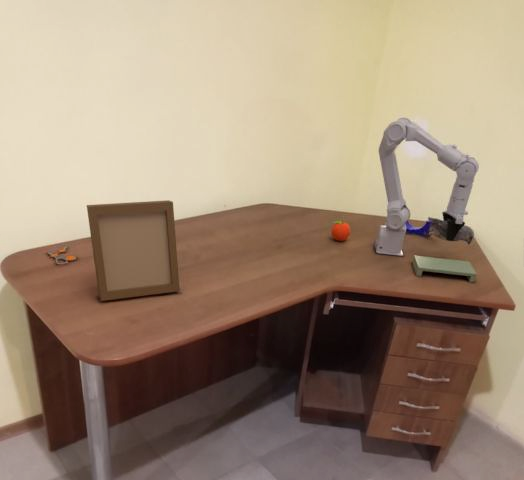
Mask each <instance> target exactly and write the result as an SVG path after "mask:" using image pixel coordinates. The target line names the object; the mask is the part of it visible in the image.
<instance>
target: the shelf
mask: <svg viewBox="0 0 524 480" xmlns="http://www.w3.org/2000/svg"><path fill="white" fill-rule="evenodd" d="M411 264H412V267H413V270H414V273H415V276H417V277H422V275H423V272H430V273H439V274H447V275H457V276H466V278H467V280H468V283H469V282H470V283H475V280H476V278H477V274H478V273H477V272H476V270H475V269H474V267H473V265H472V264H471V262H470V261H467V260H460V259H459V260H458V259H449V258H440V257H432V256H422V255H415V254H414V255H413V260H412V262H411Z"/></svg>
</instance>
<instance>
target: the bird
mask: <svg viewBox="0 0 524 480" xmlns="http://www.w3.org/2000/svg"><path fill="white" fill-rule="evenodd" d="M427 220H429V221H430V222H431V223H430V224H431V228H430V231H429V232H426V231H425V233H426V237H425V238H426V240H427V241H428V240H429V238H428V237H430V236H431V235H433V236H434V237H435V238H437V239H440V240H443V241H446V242H449V241H448V240H446V237H447V230H448V224H447V221H443V220H442V219H439V218H436V217H430V216H428V218H427ZM425 230H426V229H425ZM427 233H429V235H427ZM474 237H475V232H474V230H473V229H472V227H470V226H467V225H464V226H463V227H462V228H461V229H460V230H459V232H458V233H457V235H456V237H455V238H454V240H453V241H452V242H458V241H459V242H460V241H464V242H466V243H467V245H470V244H471V243H472V241H473V240H474Z"/></svg>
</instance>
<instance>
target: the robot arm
mask: <svg viewBox="0 0 524 480" xmlns="http://www.w3.org/2000/svg"><path fill="white" fill-rule="evenodd" d="M403 141H405V142H417V143H418V144H420V145H422V146H423V147H425V148H427V149H428V150H429V151H431V152H432V153H434V154H436V157H437V158H436V159H437V161H438V162H440V163H441V164H442V165H444V166H445V167H447V168H448V169H449V170H451V171H452V172H456V173H455V174H456V178H455V181H454V182H453V186H452V189H451V193H450V197H449V199H448V203H447V205H446V208H445V211H442V213H441V214H442V219H443V220H442V221H447V224H448V230H447V237H446V240H448V241H447V242H454V241H453V240H454V238H455V237H456V235H457V233H458V232H459V230H460V229H461V228H462V227H463V226H466V225H465V224H466V222H465V221H464V220H465V219H464V217H465V216H467V215H469V211H468V210H466V208H467V206H468V203H469V199H470V195H471V193H472V189H473V185H474V182H475V176H476V175H477V173H478V171H479V167H480V166H479V162H478V160H477V159H476V158H475V157H472V156H470V154H468V153H466V154H465V153H464V152H462V151H461V150H459V149H458V146H457V145H456V144H453V145H452V144H451V143H447V144H444V143H442V142H441V141H439V140H438V139H437V138H435V136H432V134H431V133H429V132H428V131H427V130H425V129H424V128H422V127H421V126H420V125H419V124H417V123H416V122H414V121H411V120H410V119H409V118H408V117H399V118H398V119H397V120H395V121H392V122H391V123H389V124H388V125H387V127H386V128H385V129H384V131H383V134H382V138H381V140H380V143H379V147H378V156H379V161H380V166H381V172H382V177H383V183H384V188H385V193H386V199H387V205H386V206H387V207H386V213H387V215H386V219H385V225H379V227H378V230H377V235H376V238H375V243H374V247H375V252H376V254H380V255H391V256H397V257H398V256H399V257H403V256H404V253H403V245H404V240H405V236H406V234H407V233H406V229H407V227H406V222H407V221H408V222H409V220H410V218H411V210H410V209H409V207H408V206H407V202H406V200H405V198H404V196H403V191H402V184H401V179H400V173H399V166H398V162H397V156H396V150H397V149H398V148H399V146H400V145H401V143H402V142H403ZM446 240H445V241H446Z"/></svg>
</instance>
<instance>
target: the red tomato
mask: <svg viewBox="0 0 524 480" xmlns="http://www.w3.org/2000/svg"><path fill="white" fill-rule="evenodd" d="M333 224H334V225H333V226H332V227H331V225H329V226H328V227H331V236H332V237H333V239H334V240H335V241H340V242H344V241H346V240H347V239H348V238H349V237H350V235H351V227H350V225H349V224H348V223H347V222H346V221H340V220H339V221H334V222H333Z"/></svg>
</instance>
